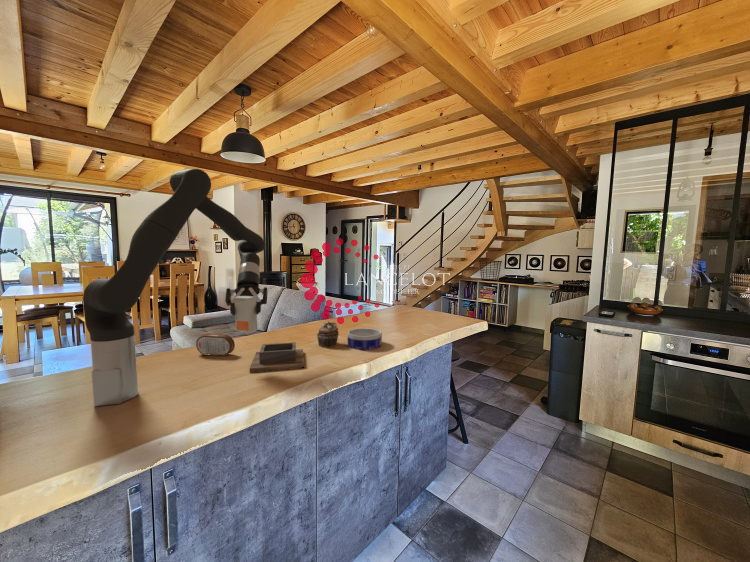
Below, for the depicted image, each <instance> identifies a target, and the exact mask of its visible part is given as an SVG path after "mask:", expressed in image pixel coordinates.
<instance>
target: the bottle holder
mask: <svg viewBox="0 0 750 562" xmlns="http://www.w3.org/2000/svg"><path fill="white" fill-rule="evenodd" d="M250 364H251V365H250V366H249V373H250V372H251V373H259V372H258V371H263V372H268V371H267V370H275V371H280V370H279V369H287V370H291V369H290V368H299V369H303V368H302V367H304V368H305V360H304V349H303V348H297V343H296V341H295V342H293V341H292V342H280V343H278V342H277V343H264V344H262V345H261V348H260V350H259V351H256V352H255V354H254V357H253V359H252V362H251V363H250Z"/></svg>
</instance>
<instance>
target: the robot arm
mask: <svg viewBox="0 0 750 562" xmlns="http://www.w3.org/2000/svg"><path fill="white" fill-rule="evenodd" d="M210 177H211V176H209V174H208V173H207V172H206V171H204V170H202V169H199V168H187V169H183V170H182V169H181V170H178V171H176V172H174V173H172V174H171V176H170V177H169V185H170V189H171V190H172V192H174V193H173V194H172V195H171V196H170V197H169V198H168V199H167V200H166V201H164V202H163V203H162V204H161V205H159V206H158V207H157V208H155V209H154V210H153V211H151V212H150V213H149V214H148V215H147V216H146V217H145V218H144V219H143V220H142V222H141V223H140V225H139V226H138V227H137V229H136V230H135V231H134V233H133V235H132V238H131V239H130V244H129V249H128V252H127V256H126V258H125V260H124V262H123V264H122V265H121V266H120V267H119V269H118V270H117V271H116V272H115V273H114V274H113V275H112V276H111V277H110V278H98V279H95V280H93V281H91V282H90V283H88V284H87V285H86V287H85V288H84V291H83V294H82V305H83V306H82V307H83V314H84V321H85V322H84V323H85V326H86V329H87V331H88V333H89V338H90V350H91V362H92V363H91V364H92V371H91V381H92V394H93V395H92V396H93V406H94V407H98V406H99V407H100V406H109V405H120V404H123V403H124V402H126V401H128V400H131V399H133V398H135V397H137V395H138V394H139V384H138V369H137V366H138V365H137V355H136V353H137V351H136V334H135V326H134V324H133V323H132V322H131V321H130V320H129V319H128V318H129V317H127V312H128V311H129V310H131V309H132V308H133V307H135V305H136V304H137V302H138V300H139V299H140V297H141V295H142V292H143V291H144V288H146V285H147V283H148V280H149V279H150V277H151V275H152V274H153V273H154V271H155V270H156V268H157V267H158V265H159V263H160V262H161V261H162V259H163V257H164V256H165V254H166V253H167V251H168V250H169V249H170V247H171V246H172V244H173V243H174V242H175V240H176V238H177V237H178V236H179V233H180V232H181V231H182V229H183V228H184V226H185V225H186V223H187V221H188V220H189V218H190V217H191V215H192V214H193V212H194V211H195V210H197V211H199V212H200V213H201V214H202V215H204V216H205V217H206V218H208V219H209V220H210V221H212V222H213V223H214V224H215V225H216V226H218V227H219V229H220V230H222V231H223V232H224V233H225V234H226V235H227V236H228V237H229V238H230V239H231V240H233V241H235V242H238V244H237V250H238V253H239V259H240V262H239V263H240V264H239V268H238V273H237V279H236V280H237V283H236V287H235V288H234V289H231V288H230V287H229V288H226V291H225V292H226V293H225V304H226V306H227V307H229V306H230V308H229V311H230V314H231V315H232V316H235V303H234V298H233V299H232V297H233V295H234V294H235V295H234V297H238V296H256V314H257V315H259V314H261V311H262V305H267V304H268V292H269V291H268V288H267V286H266V287H265V286H264V287H263V288H260V278H261V271H260V265H261V263H260V262H261V259H260V256H259V255H258V254H259V253H261V252H263V251H264V250H265V249H266V241H265V240H264V238H263V237H262V236H261V235H260V234H258V233H257V232H255V231H253V230H251V229H250V228H249V227H247V226H245V225H244V223H242V222H241V220H240V219H238V217H236V215H234V214H233V213H232V212H231V211H229V210H227V209H226V208H224V207H222V206H220V205H219V204H217V203H216V202H215V201H213V200H212V199H210V197H208V195H209V193H210V191H211V188H212V181H211V178H210ZM260 293H261V295H262V298H261V299H260V297H259V294H260Z"/></svg>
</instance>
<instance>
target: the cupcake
mask: <svg viewBox="0 0 750 562" xmlns="http://www.w3.org/2000/svg"><path fill="white" fill-rule="evenodd" d="M337 326H338V325H337V323H336V322H331V321H327V322H324V323H323V325H321V327H320V328H319V329H318V332H317V334H316V337H317V342H318V346H319V347H322V348H333V347H335V346H337V344H338V339H339V334H340V333H339V328H338V327H337Z"/></svg>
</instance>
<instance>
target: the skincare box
mask: <svg viewBox="0 0 750 562" xmlns="http://www.w3.org/2000/svg"><path fill="white" fill-rule="evenodd" d="M233 299H234V303H235V315H234V321H235V322H234V324H235V331H236V332H244V333H251V332H254V331H256V330H258V314H256V296H238V297H235V296H234V298H233Z"/></svg>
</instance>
